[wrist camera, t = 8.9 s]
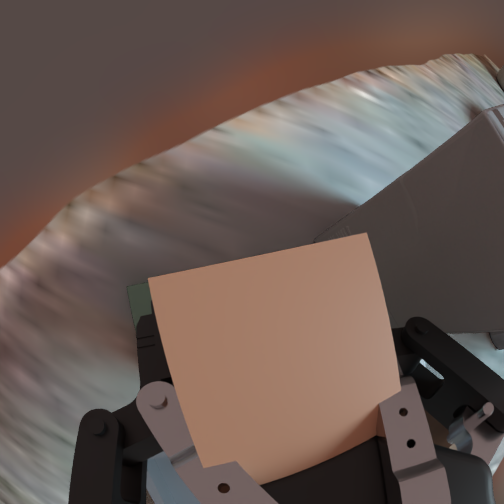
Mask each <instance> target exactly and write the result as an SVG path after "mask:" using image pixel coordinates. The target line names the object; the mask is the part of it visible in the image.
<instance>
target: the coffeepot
mask: <svg viewBox="0 0 504 504" xmlns="http://www.w3.org/2000/svg"><path fill="white" fill-rule="evenodd" d="M490 336H491V339H492V341H493V343H494V345H495V346H496V347H497V348H498V349H499V350H502V349H504V331H495V332H490Z"/></svg>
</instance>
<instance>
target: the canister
mask: <svg viewBox="0 0 504 504" xmlns="http://www.w3.org/2000/svg"><path fill="white" fill-rule="evenodd" d="M497 80H498V82H499V84H500V86H501V87H502V89H503V90H504V66H503V67H502V68H501V69H500V70H499V72H498V74H497Z"/></svg>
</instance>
